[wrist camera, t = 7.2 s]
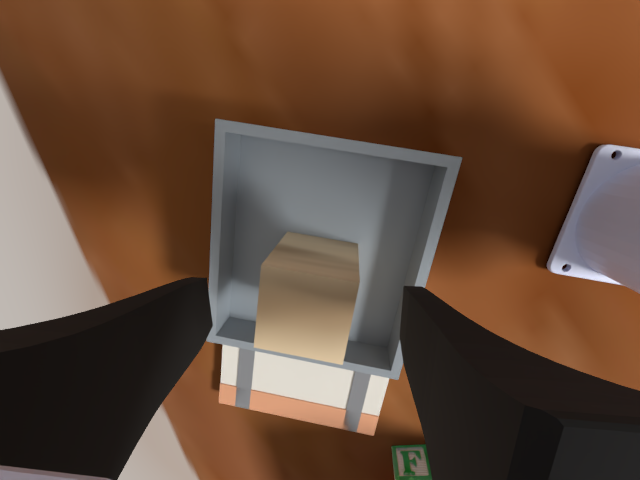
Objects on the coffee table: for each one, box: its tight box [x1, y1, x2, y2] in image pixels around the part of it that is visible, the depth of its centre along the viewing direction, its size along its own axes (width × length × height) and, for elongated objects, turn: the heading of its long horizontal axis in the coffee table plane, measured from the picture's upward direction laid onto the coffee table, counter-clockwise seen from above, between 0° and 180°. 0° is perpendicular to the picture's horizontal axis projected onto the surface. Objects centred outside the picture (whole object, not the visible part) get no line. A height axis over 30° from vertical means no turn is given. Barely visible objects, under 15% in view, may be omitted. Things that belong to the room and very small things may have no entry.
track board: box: [219, 345, 389, 436], centre depth 22 cm, size 13×22×1 cm, turn 171°
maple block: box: [254, 232, 360, 365], centre depth 15 cm, size 4×4×5 cm
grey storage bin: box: [207, 119, 463, 380], centre depth 17 cm, size 11×12×5 cm
